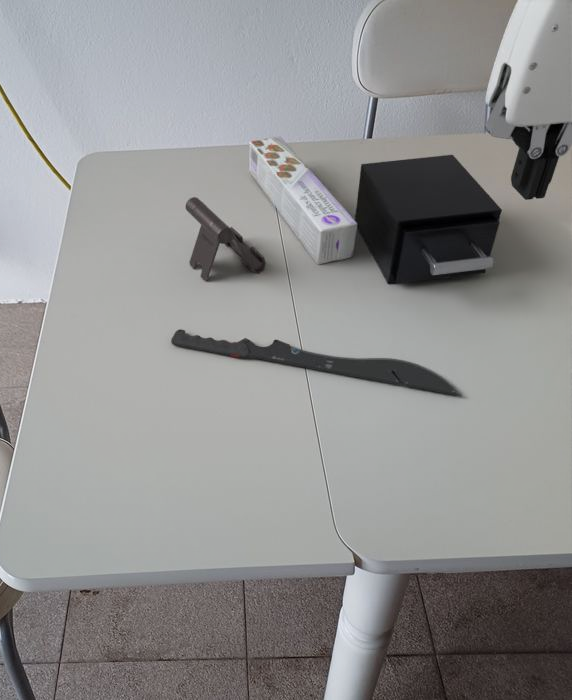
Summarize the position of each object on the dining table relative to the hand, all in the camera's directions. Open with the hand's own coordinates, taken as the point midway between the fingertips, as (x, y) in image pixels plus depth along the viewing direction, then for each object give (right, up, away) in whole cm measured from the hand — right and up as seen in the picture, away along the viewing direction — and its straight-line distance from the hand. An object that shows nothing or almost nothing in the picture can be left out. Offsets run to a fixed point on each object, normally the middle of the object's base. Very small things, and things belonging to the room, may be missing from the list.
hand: (527, 191), depth 59 cm
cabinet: (-2, -1, +28) cm, 28 cm away
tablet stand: (-28, -3, +27) cm, 39 cm away
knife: (-18, -16, +12) cm, 27 cm away
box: (-17, +6, +36) cm, 40 cm away
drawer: (-1, -3, +24) cm, 24 cm away
